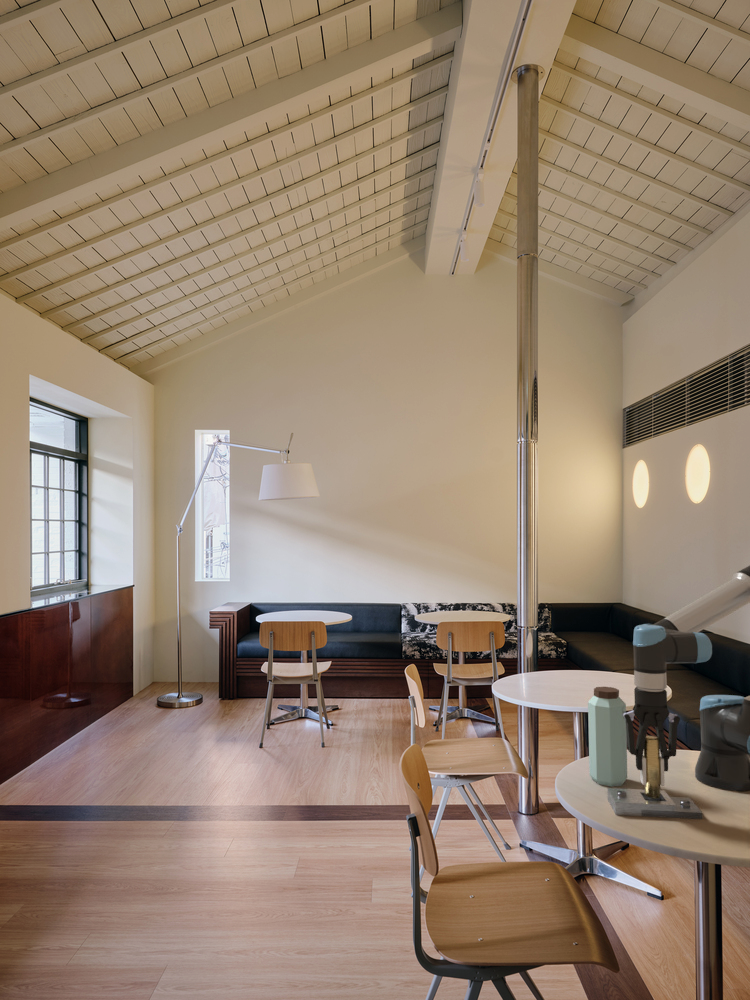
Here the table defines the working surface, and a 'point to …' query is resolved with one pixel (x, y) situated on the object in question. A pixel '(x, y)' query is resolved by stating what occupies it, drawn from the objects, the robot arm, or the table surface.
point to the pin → (652, 767)
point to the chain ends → (651, 804)
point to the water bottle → (607, 737)
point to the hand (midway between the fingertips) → (652, 783)
